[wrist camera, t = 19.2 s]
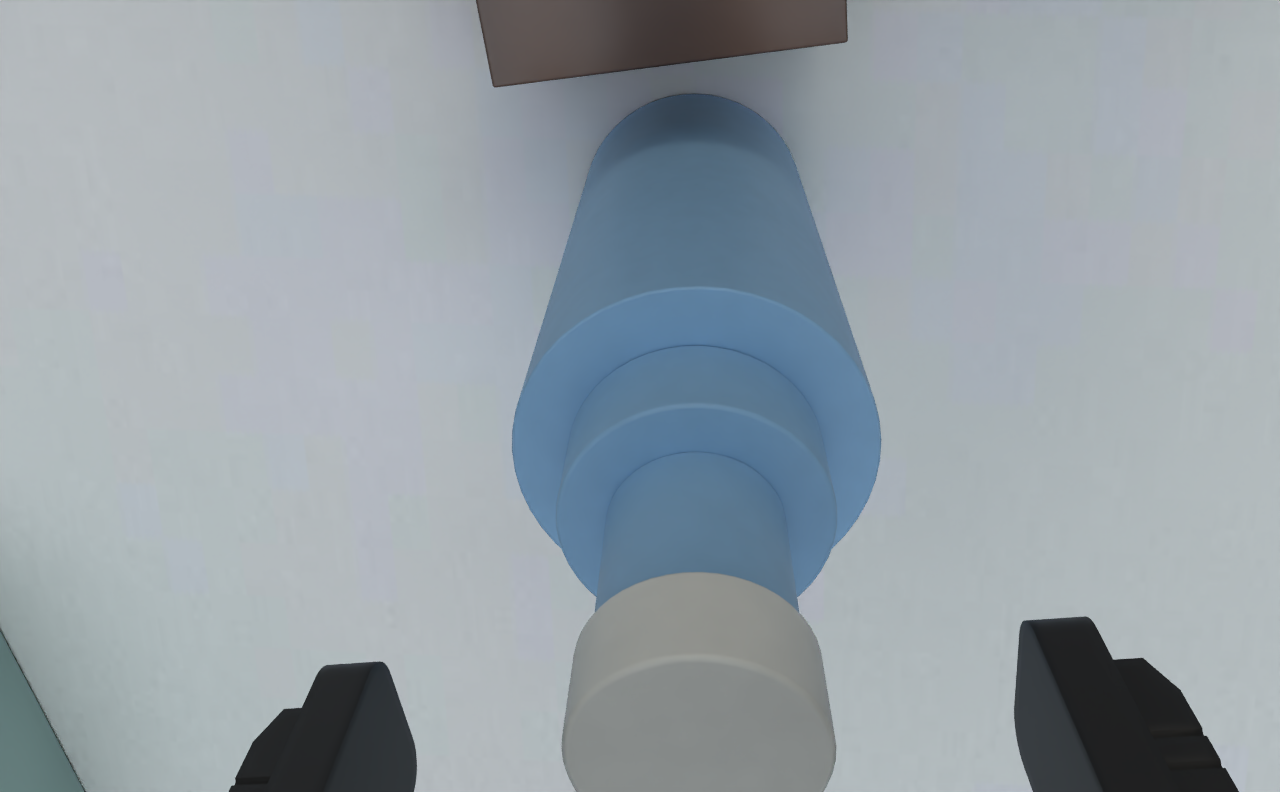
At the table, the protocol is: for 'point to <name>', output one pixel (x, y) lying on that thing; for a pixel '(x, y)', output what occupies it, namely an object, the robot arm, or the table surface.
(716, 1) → the dark brown cuboids
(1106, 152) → the table surface
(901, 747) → the table surface
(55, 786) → the planter
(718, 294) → the bottle
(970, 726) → the table surface
